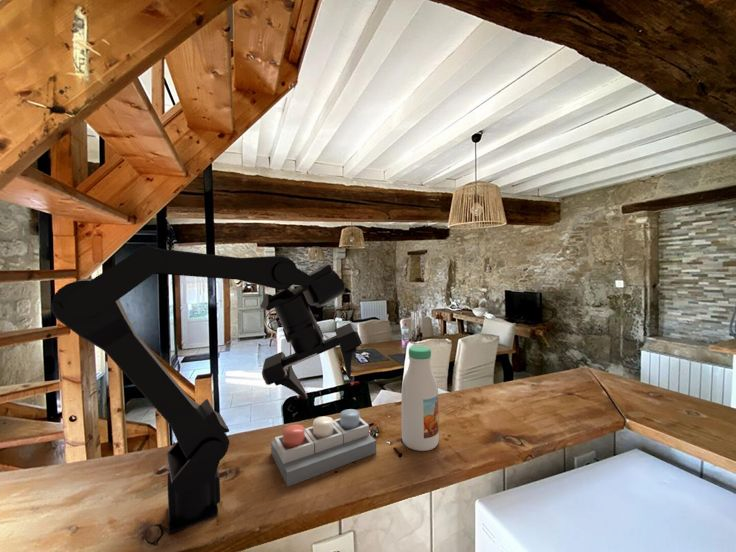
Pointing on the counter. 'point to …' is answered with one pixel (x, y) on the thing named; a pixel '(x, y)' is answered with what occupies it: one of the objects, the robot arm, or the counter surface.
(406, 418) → the milk bottle
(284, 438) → the button red
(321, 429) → the button ivory
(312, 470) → the console
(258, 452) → the counter surface
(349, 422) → the button blue
